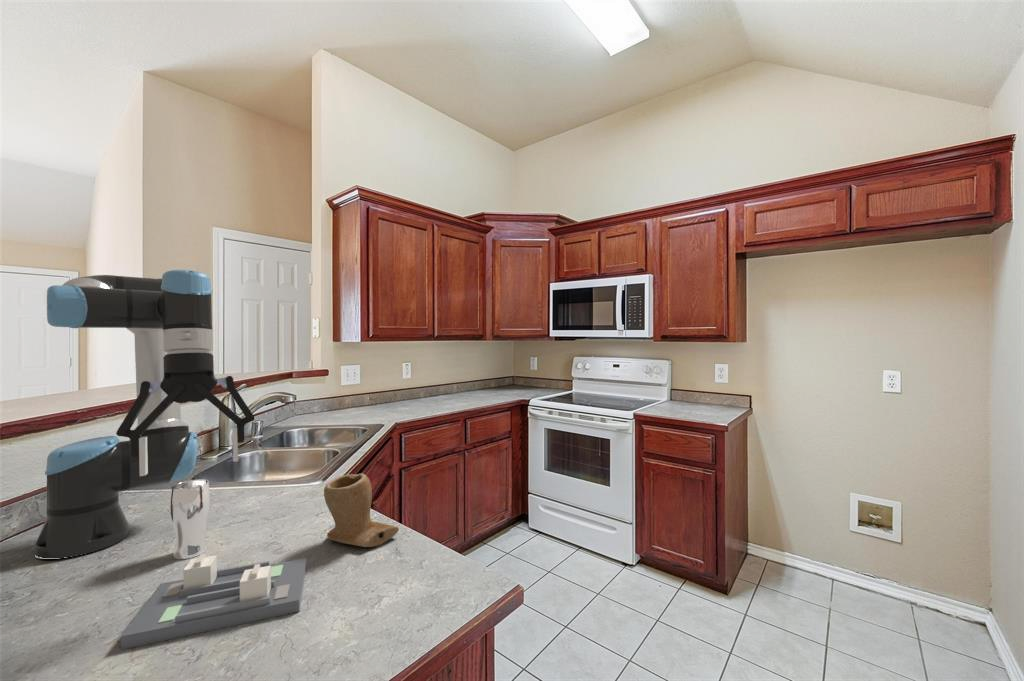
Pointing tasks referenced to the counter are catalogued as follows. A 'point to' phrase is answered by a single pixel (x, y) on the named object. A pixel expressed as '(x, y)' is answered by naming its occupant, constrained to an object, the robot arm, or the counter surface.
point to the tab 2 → (255, 583)
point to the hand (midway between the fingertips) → (191, 467)
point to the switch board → (214, 604)
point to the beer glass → (190, 517)
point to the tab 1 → (200, 571)
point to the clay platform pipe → (354, 512)
